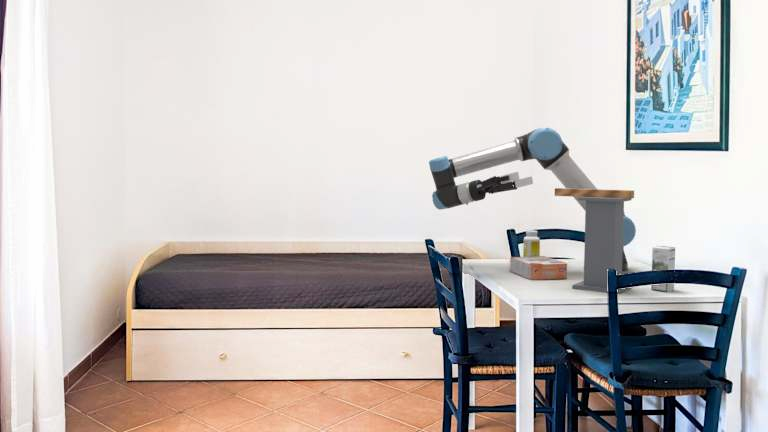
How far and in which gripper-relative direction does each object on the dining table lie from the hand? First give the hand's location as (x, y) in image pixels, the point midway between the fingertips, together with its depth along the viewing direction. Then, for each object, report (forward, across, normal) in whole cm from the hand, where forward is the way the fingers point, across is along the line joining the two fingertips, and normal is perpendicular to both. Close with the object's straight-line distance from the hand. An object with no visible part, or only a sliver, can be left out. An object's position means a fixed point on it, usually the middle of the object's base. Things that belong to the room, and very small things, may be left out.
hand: (525, 177), depth 282 cm
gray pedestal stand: (+20, +1, -43) cm, 48 cm away
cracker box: (-13, -21, -28) cm, 37 cm away
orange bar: (+24, +5, -13) cm, 28 cm away
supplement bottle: (-21, -47, -26) cm, 57 cm away
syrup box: (+37, -6, -47) cm, 60 cm away
